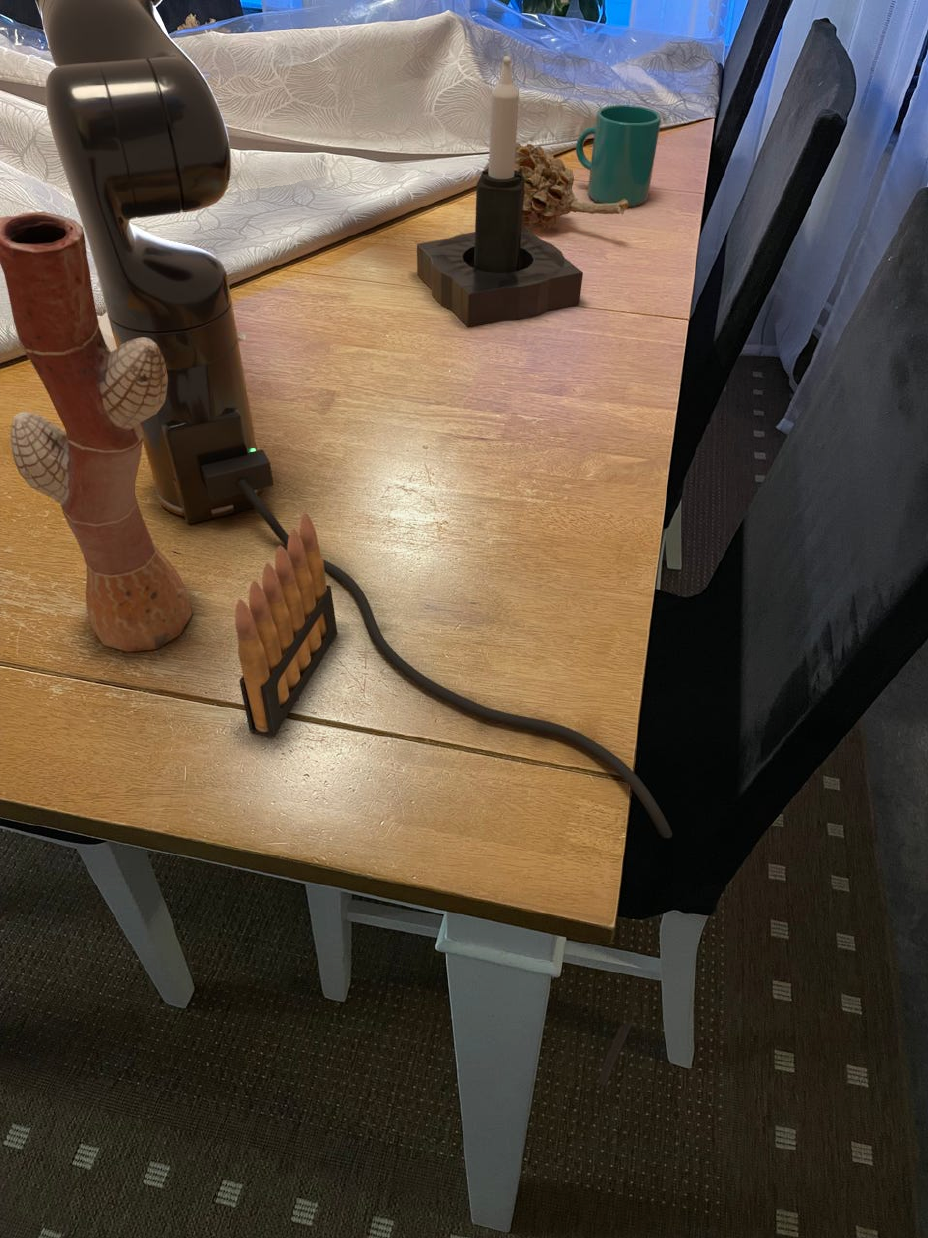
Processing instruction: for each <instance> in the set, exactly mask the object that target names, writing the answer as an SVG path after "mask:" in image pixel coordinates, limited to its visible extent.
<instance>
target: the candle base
mask: <svg viewBox="0 0 928 1238" xmlns="http://www.w3.org/2000/svg"><path fill="white" fill-rule="evenodd" d="M474 250H475V231H473V232H466V233H461V234H457V235H455V236H451V237H448V238H443V239H436V240H430V241H425V242H418V243H416V276H417V277H418V278H419V279H420V280H421V281H422V282H423V283H424V284H425V285H426V286H427V287H428V288H429V289H430V290H431V294H432V297H433V298H434V300H436V301H437V302H438V304H439V305H441V306H443V307H444V308H446V309H448V310H449V311H451V312H452V313H453V314H454V315H455V316H456V317H457V318H458V319H459V320H461V322H462V323H463V324H464V325H465V326H466V327H467V328H470V327H474V326H479V325H480V326H481V325H484V324H485V325H486V324H490V323H494V322H499V321H500V322H501V321H514V320H515V321H518V320H522V319H528V318H533V317H537V316H539V315H541V314H544V313H546V312H549V311H554V310H559V309H563V308H569V307H573V306H574V307H575V306H578V305H580V300H581V292H582V285H583V275H584V272H583V271H582V270H580V269H579V268H578V267H577V266H575V264H573V263H572V262H571V261H569V260H568V259H567V258H566V257H565V256H564V254H563V252H562V251H561V250H560V248H558V247H556V246H555V245H554V244H552V243H550V242H548V241H546V240H543V239H542V238H540V237H539V236H537V235H536V234H535V233H533V231H532V230H530V229H529V228H527V227H526V226H524V225H522V229H521V243H520V258H519V271H516V272H511V273H492V272H484V271H481V270H477V269H475V268H474Z"/></svg>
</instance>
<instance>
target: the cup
mask: <svg viewBox="0 0 928 1238" xmlns="http://www.w3.org/2000/svg"><path fill="white" fill-rule="evenodd" d="M661 122H662V116H661V114H660V113H659V112H658V111H656V110H654V109H652V108H648V107H645V106H639V105H630V104H615V105H608V106H604V107H601V108H599V109H598V110H597V111H596V117H595V125H592V126H590V127H587V128H586V129H584V130H583V131H582V132H581V133H580V134H579V136H578V138H577V140H576V145H575V152H576V157H577V159H578V162H579V163H580V164H581V166H582V167H584V168H585V169H586V170H588V171H589V178H588V186H587V194H588V196H589V197H590V199H591V200H592V201H594V202H595V203H597V204H612V203H617V202H620V201H622V200H623V199H625V200H628V208H631V207H635V206H639V205H641V204H643V203H645V202H646V201H647V200H648V198H649V196H650V195H649V194H650V189H651V183H652V177H653V172H654V171H653V170H654V166H655V165H654V164H655V158H656V153H657V145H658V139H659V134H660V129H661V128H660V127H661ZM590 135H593V142H592V151H591V159H588V158H587V157H586V155H585V151H584V143H585V141H586V139H587V138H588V137H589V136H590Z"/></svg>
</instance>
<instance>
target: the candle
mask: <svg viewBox="0 0 928 1238" xmlns="http://www.w3.org/2000/svg"><path fill="white" fill-rule="evenodd" d="M502 63H503V65H502V69H501V72H500V75H499V78H498V82H497V83H496V84H495V86H494V88H493V90H492V92H491V99H490V100H491V101H490V102H491V104H490V127H489V129H490V130H489V151H488V153H489V154H488V159H489V161H488V163H489V169H486V170H485V169H484V170H482V171H483V172H482V171H481V173H480V177H479V178H478V181H477V183H476V188H475V189H476V190H475V191H476V193H475V223H474V232H475V250H474V268H475V269H477V270H481V271H484V272H492V273H511V272H516V271H519V258H520V243H521V229H522V226H523V224H522V214H523V200H524V185H525V178H524V177H523V176H521V173H520V172H518V171H516V170H514V169H515V152H516V143H517V136H518V135H517V134H518V133H517V132H518V120H519V119H518V117H519V100H520V93H519V91H518V88H517V86H516V85H515V82H514V77H513V72H512V68H511V63H512V58H511V57H510V55H505V56H504V57H503V58H502Z"/></svg>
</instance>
